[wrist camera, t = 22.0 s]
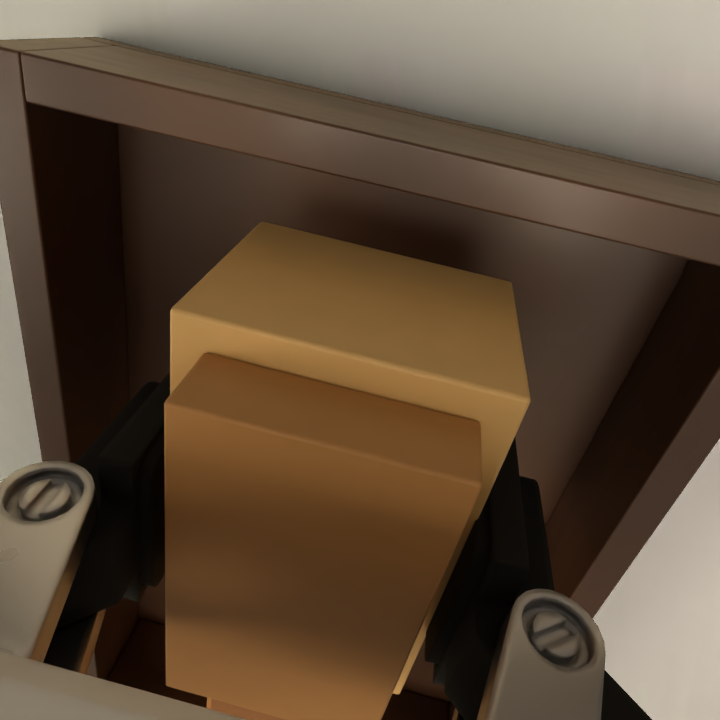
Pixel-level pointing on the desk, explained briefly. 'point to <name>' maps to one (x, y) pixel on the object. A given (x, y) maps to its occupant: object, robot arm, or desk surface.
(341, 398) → the stepped wooden block
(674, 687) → the desk surface
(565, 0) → the desk surface
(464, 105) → the desk surface
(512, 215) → the brown wooden tray
